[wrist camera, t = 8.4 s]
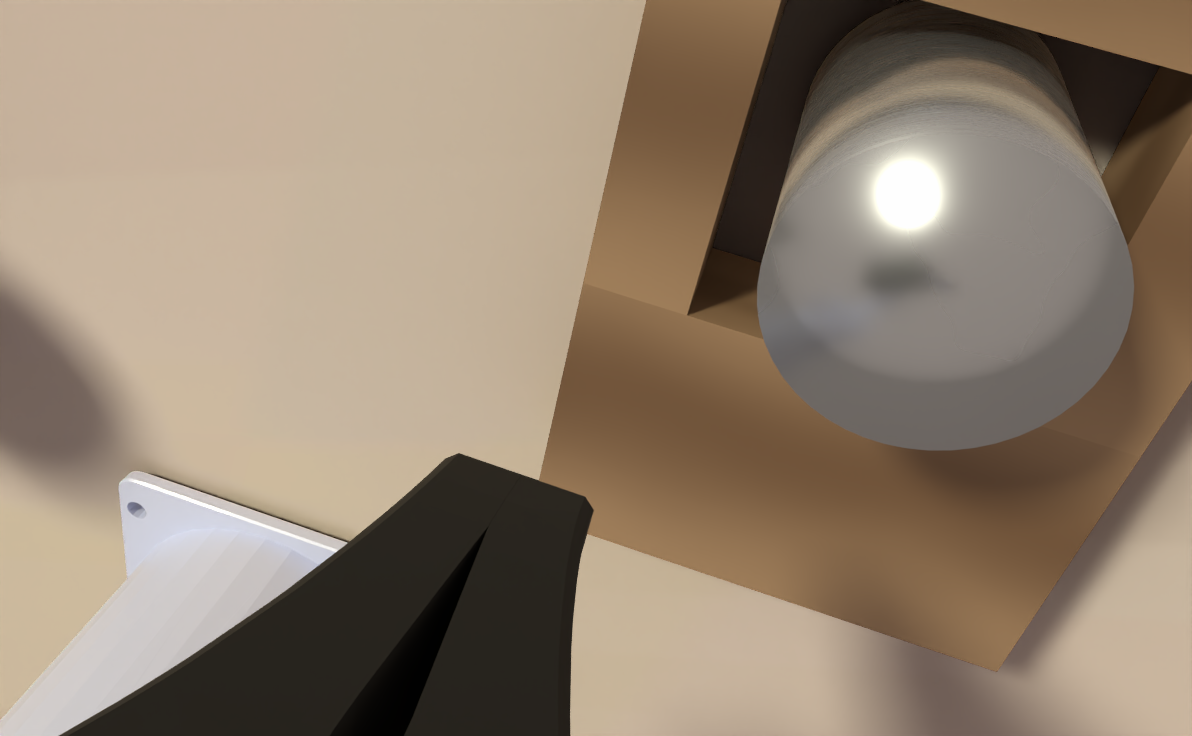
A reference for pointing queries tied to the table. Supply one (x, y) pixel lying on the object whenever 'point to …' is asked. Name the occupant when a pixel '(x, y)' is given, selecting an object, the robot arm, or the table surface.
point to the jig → (798, 432)
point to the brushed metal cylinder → (942, 238)
